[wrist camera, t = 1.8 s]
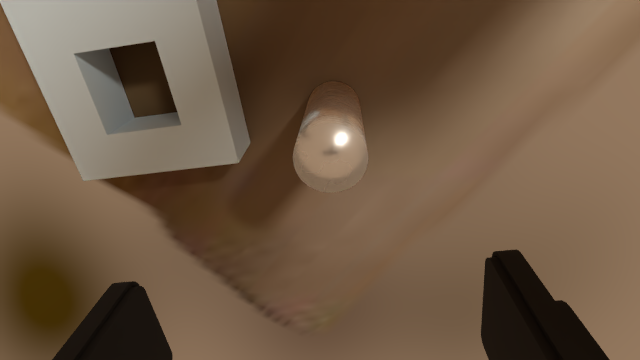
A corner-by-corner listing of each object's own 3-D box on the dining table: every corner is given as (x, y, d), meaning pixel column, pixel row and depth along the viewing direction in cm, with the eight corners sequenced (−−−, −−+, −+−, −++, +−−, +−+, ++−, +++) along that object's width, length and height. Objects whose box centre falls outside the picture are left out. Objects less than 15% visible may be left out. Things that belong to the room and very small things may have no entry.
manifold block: (162, -227, 21) (126, -270, 18) (250, 143, 31) (238, 163, 27) (-31, -181, 23) (-101, -214, 19) (112, 159, 32) (83, 181, 28)
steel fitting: (356, 77, 28) (364, 118, 19) (362, 129, 30) (371, 188, 21) (303, 84, 29) (286, 128, 20) (311, 135, 30) (299, 196, 21)
